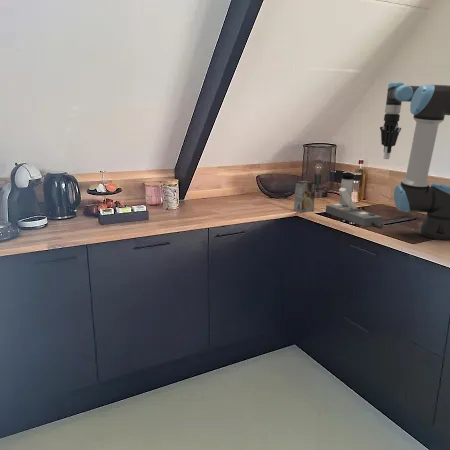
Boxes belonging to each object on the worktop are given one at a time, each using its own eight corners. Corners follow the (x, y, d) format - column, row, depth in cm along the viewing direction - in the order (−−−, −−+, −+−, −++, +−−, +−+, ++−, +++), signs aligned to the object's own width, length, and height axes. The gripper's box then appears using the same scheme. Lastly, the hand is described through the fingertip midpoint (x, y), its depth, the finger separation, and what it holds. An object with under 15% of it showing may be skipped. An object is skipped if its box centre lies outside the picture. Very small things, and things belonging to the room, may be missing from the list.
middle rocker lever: (357, 209, 216) (346, 188, 210) (355, 211, 216) (343, 191, 210) (352, 207, 220) (341, 187, 213) (349, 209, 219) (338, 190, 213)
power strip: (390, 227, 203) (391, 217, 201) (372, 229, 198) (373, 218, 197) (341, 211, 234) (342, 201, 233) (325, 212, 230) (326, 203, 229)
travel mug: (349, 206, 246) (353, 172, 240) (350, 209, 240) (354, 174, 234) (338, 205, 247) (342, 171, 242) (338, 208, 241) (342, 173, 236)
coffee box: (305, 208, 237) (308, 180, 233) (313, 211, 232) (316, 182, 228) (293, 210, 232) (295, 181, 228) (301, 212, 227) (303, 183, 223)
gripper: (407, 114, 217) (400, 160, 223) (388, 113, 228) (382, 157, 235) (396, 113, 214) (390, 160, 220) (377, 113, 225) (372, 157, 232)
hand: (386, 158), depth 227 cm, fingers closed
